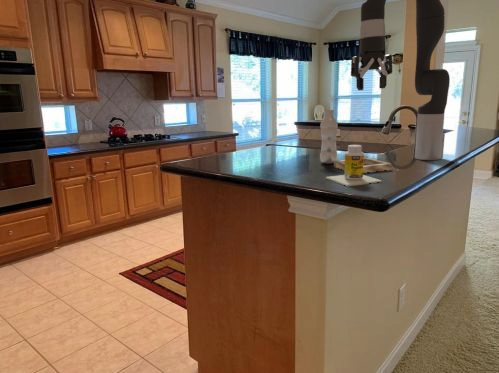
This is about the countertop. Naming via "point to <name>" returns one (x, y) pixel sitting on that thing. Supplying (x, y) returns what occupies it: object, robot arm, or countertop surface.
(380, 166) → the beech cradle
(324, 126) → the plastic bottle
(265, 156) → the countertop surface
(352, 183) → the white square pad
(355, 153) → the supplement bottle
